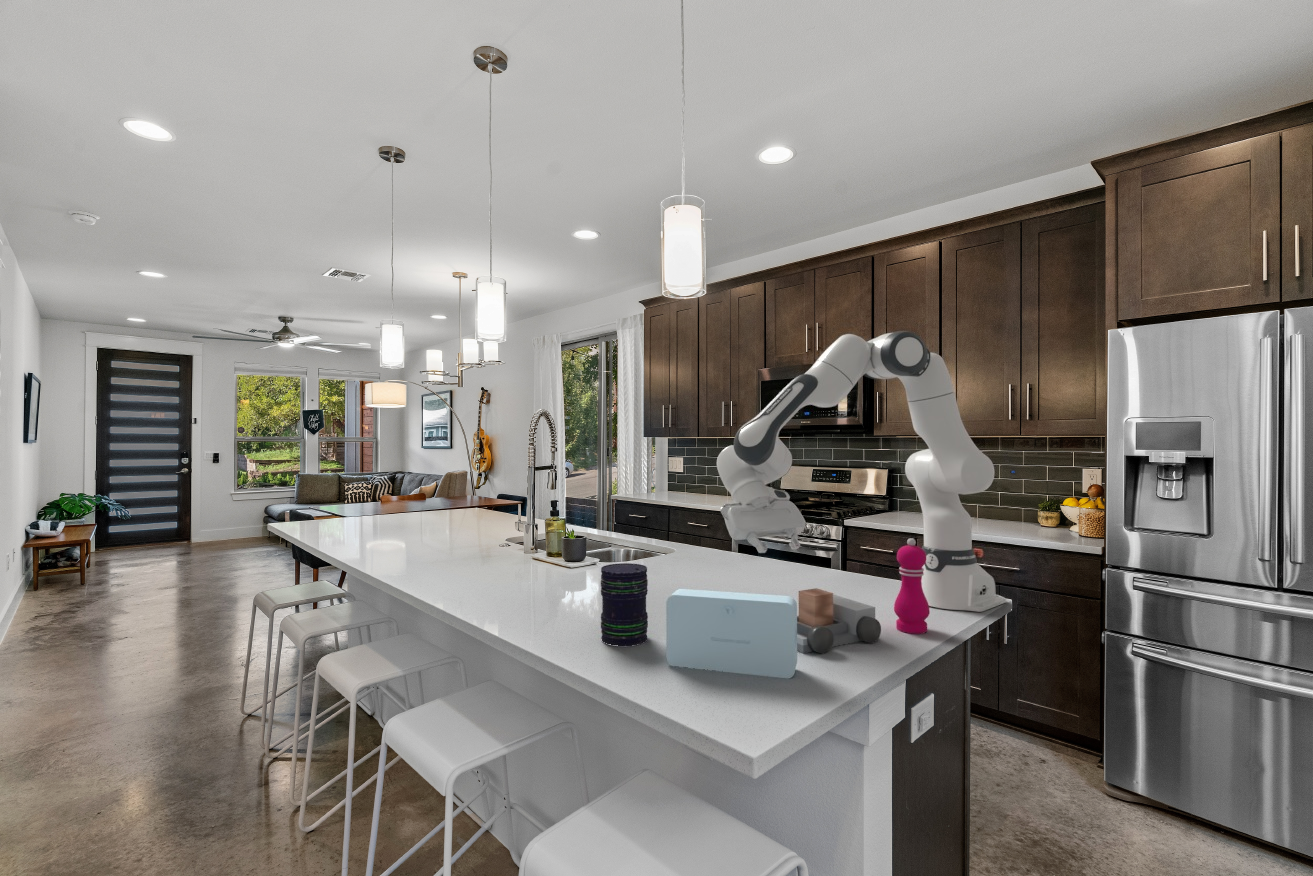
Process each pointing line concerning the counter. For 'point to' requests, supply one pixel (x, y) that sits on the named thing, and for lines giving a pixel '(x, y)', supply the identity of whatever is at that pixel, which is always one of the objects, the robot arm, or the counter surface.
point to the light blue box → (732, 632)
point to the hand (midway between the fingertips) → (780, 549)
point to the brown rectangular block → (815, 607)
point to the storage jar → (624, 604)
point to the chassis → (840, 627)
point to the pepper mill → (911, 590)
